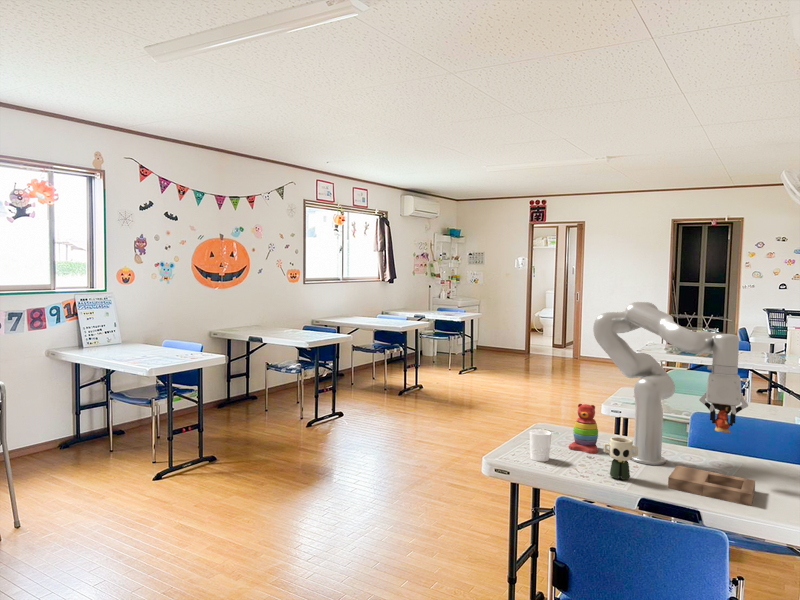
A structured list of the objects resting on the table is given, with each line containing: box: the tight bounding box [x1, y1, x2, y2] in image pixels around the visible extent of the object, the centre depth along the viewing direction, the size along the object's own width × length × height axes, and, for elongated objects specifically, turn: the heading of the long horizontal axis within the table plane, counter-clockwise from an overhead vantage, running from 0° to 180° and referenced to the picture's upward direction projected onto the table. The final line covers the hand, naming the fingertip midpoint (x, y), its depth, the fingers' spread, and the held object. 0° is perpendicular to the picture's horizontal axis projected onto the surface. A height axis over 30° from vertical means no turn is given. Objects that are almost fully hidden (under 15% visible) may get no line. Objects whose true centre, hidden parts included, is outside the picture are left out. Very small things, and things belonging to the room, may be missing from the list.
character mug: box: [603, 436, 638, 480], centre depth 192 cm, size 11×7×13 cm, turn 72°
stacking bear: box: [568, 403, 599, 455], centre depth 225 cm, size 11×10×18 cm
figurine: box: [712, 403, 732, 434], centre depth 192 cm, size 6×6×12 cm
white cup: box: [529, 429, 552, 462], centre depth 210 cm, size 8×8×10 cm
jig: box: [667, 465, 756, 507], centre depth 183 cm, size 23×16×4 cm
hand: (722, 423), depth 193 cm, fingers closed on figurine, 4 cm apart
